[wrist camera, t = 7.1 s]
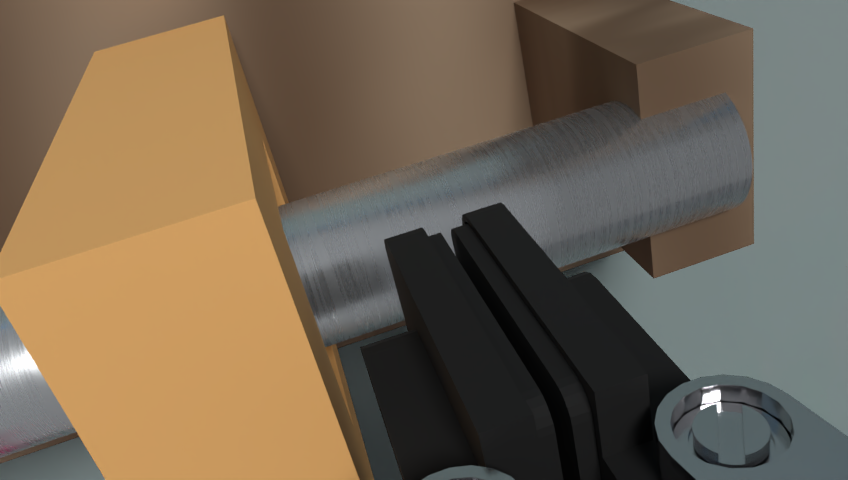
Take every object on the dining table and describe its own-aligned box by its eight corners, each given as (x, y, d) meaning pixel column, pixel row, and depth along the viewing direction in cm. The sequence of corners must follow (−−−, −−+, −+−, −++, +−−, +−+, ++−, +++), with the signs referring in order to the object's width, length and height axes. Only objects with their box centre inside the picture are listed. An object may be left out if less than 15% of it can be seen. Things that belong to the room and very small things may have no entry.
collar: (223, 15, 14) (256, 198, 7) (328, 316, 18) (421, 649, 10) (94, 51, 14) (-14, 281, 7) (225, 350, 18) (249, 717, 10)
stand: (560, -177, 16) (752, -187, 11) (606, 229, 21) (754, 369, 16) (-863, 201, 13) (-1649, 470, 8) (-417, 574, 18) (-691, 902, 12)
